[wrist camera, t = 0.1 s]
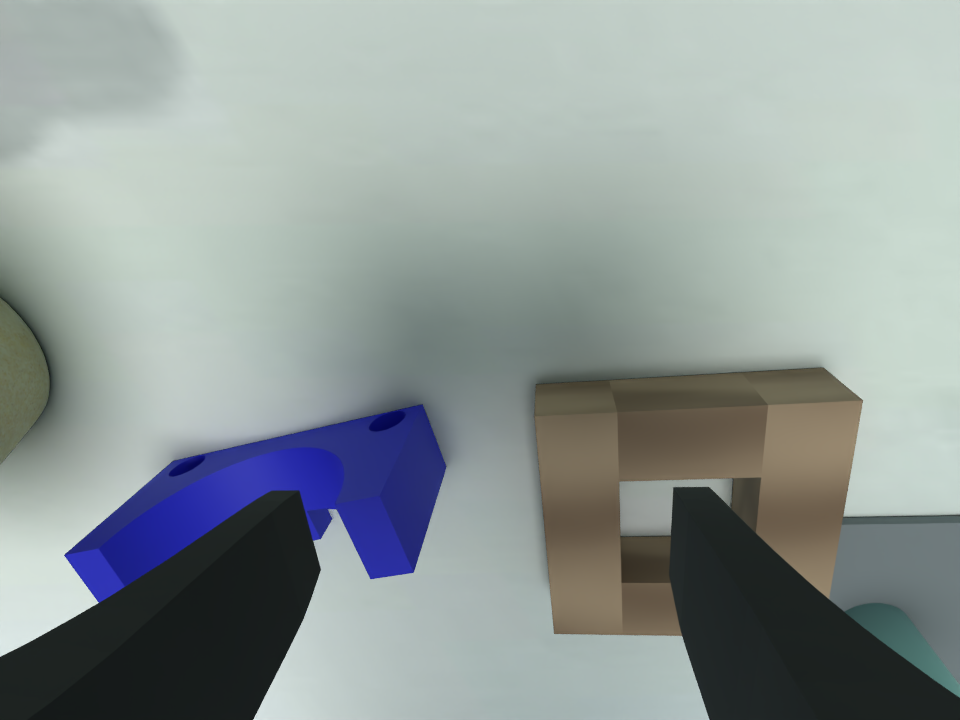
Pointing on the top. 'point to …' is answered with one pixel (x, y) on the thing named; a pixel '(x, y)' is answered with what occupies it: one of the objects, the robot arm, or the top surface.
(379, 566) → the cable clip
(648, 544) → the socket block
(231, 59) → the top surface
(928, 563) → the mat
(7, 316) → the plant pot
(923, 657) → the peg
